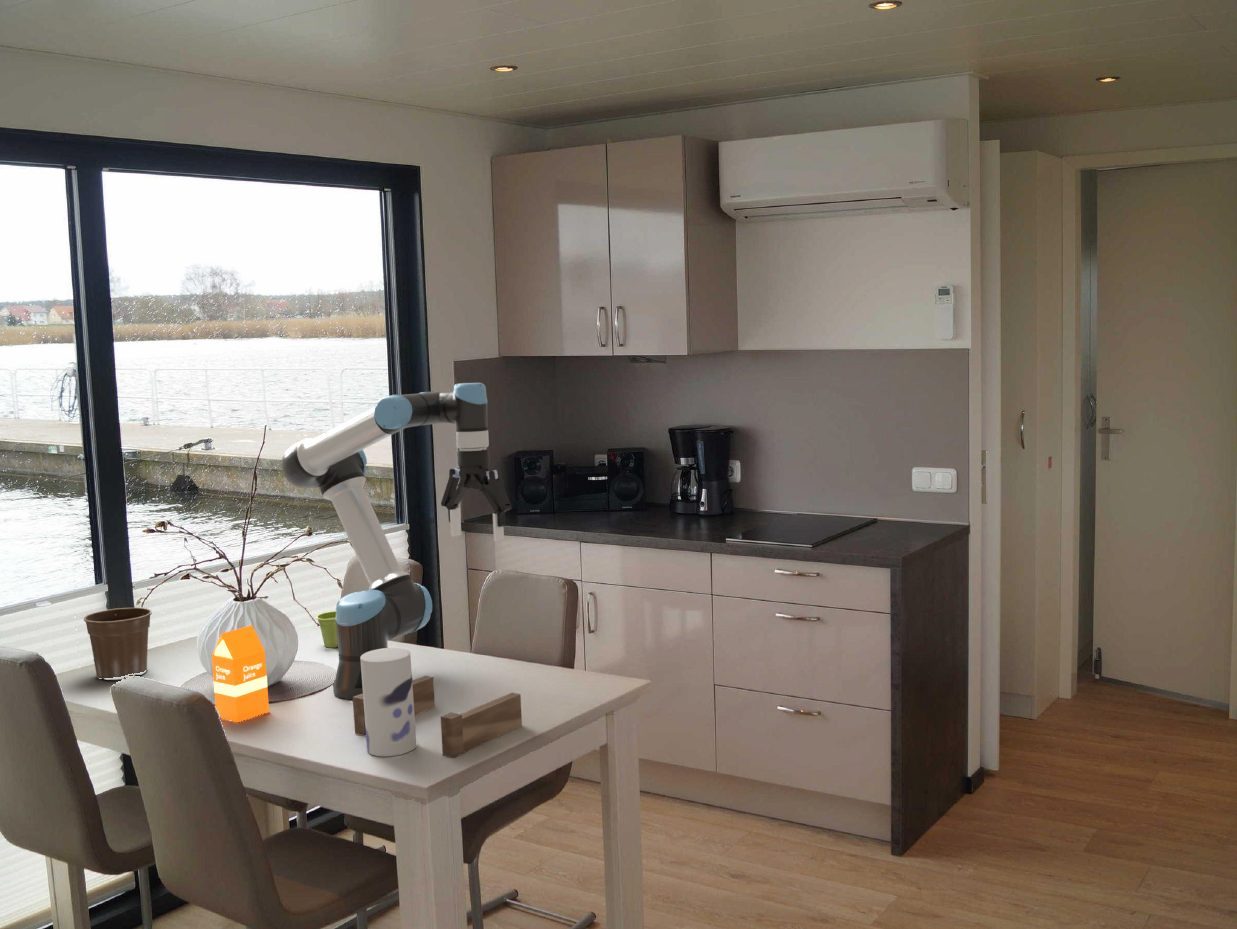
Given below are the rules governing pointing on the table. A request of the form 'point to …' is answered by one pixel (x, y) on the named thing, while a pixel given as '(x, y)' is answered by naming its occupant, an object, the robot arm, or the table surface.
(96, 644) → the plant pot
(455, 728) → the channel
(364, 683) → the container
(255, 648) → the orange juice
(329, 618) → the plant pot
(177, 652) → the table surface
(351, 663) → the robot arm
